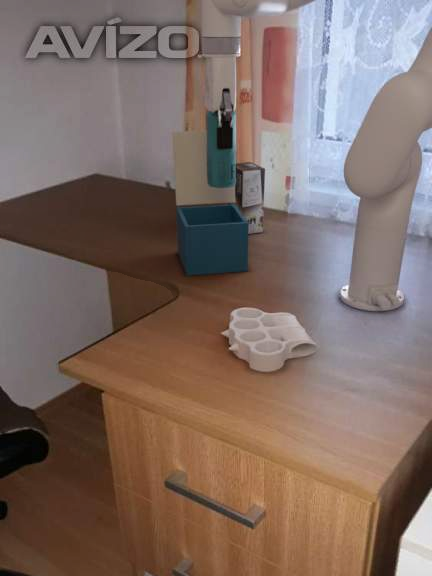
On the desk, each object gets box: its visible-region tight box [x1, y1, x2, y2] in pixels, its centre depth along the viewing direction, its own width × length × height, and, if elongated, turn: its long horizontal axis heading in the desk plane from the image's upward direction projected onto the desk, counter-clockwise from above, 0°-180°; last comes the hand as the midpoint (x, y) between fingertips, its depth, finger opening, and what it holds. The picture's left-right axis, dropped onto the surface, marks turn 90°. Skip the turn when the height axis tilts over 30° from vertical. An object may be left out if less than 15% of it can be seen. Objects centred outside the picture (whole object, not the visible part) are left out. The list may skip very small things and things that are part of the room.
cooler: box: [176, 203, 250, 276], centre depth 138 cm, size 15×14×11 cm
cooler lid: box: [171, 130, 235, 207], centre depth 140 cm, size 16×14×5 cm
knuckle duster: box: [219, 307, 317, 373], centre depth 105 cm, size 3×18×15 cm
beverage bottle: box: [205, 98, 238, 188], centre depth 127 cm, size 6×7×20 cm
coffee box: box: [228, 161, 266, 235], centre depth 157 cm, size 9×6×16 cm
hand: (221, 144), depth 127 cm, fingers closed on beverage bottle, 6 cm apart
